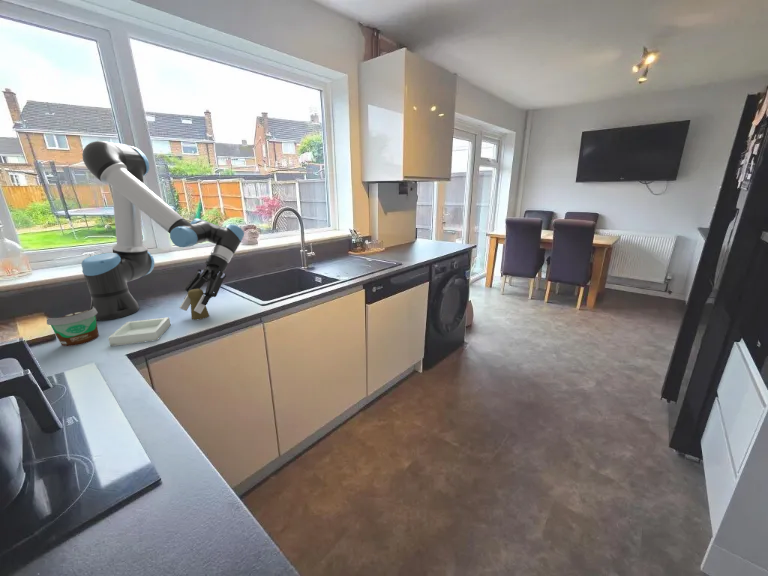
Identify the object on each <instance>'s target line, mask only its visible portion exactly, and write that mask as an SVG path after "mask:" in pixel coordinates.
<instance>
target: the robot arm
mask: <svg viewBox="0 0 768 576" xmlns="http://www.w3.org/2000/svg"><path fill="white" fill-rule="evenodd" d="M82 160H83V163H84V165H85V167H86V168H87V170H88V171H89V173H91V174H92V175H93V176H94V177H95V178H96V179H98V180H99V181H100V182H101V183H103V184H105V185H110V186H111V190H112V191H111V192H112V201H113V204H112V205H113V216H114V224H115V225H114V226H115V237H116V243H115V245H113V246H112V252H105V253H99V254H94V255H92V256H88V257H86V258H84V259H83V260H82V261H81V269H82V270H81V271H82V274H83V276H84V279H85V282H86V286H87V289H88V291H89V292H88V293H89V294H90V299H91V301H90V309H93V307H94V308H95V309H96V311H97V312H98V313H97V314H96V315H95V316H96V321H108V320H115V319H119V318H123V317H127V316H130V315H132V314H135V313H136V311H137V312H138V311H139V309H140V307H139V303H138V301H137V300H136V299H135V298H134V297H133V295H132V293H130V290H129V286H128V283H129V282H132V281H134V280H138V279H141V278H143V277H146V276H147V275H149V274H151V272H152V271H153V270H154V268H155V259H154V256H153V255H151V254H152V253H151V252H149V250H148V247H147V246H145V245H144V243H143V228H142V227H143V225H142V212H143V213H144V214H146V216H147V217H149V218H150V219H152V220H153V221H154V222H155V223H156V224H157V225H159V226H160V227H161V228H162V229H164V230H165V232H167V233H169V239H170V241H171V242H172V244H174V245H175V246H177V247H179V248H190V247H194V246H195V245H198V244H202V243H204V242H205V243H206V242H209V243H212V244H215V246H214V247H213V249H212V250H211V252H210V254H209V256H208V257H207V259H206V261H205V264H206V266H205V267H204V268H203V269H201V268H198V269H197V270H196V273H195V274H194V276H193V277H192V279H191V280H190V281H189V283H188V284H187V286H186V287H185V289H184V291H186V295H185V297H184V298H183V301H182V302H181V304H180V305H179V308H180V310H183V311H188V309H189V308H190V307H191V300H190V298H189V297H188V291H190V290H192V289H202V286H204V285H205V284H206V283H207V285H206V288H205V292H203V294H204V295H202V297H201V299H200V300H199V302H198V304H197V306H196V307H195V309H194V311H196V312H198V313H199V314H201V313H202V311H203V309H204V307H205V305H208V303H209V302H210V299H211V298H212V299H213V298H216V297H217V296H218V293H219V291H220V288H221V286H222V284H223V281H224V280H225V279H226V277H227V274H225V273H224V272H225V271H226V269H227V267H228V266H229V263H230V262H231V260H232V258H233V256H234V255H235V253H236V251H237V249H238V248H239V246H240V245H241V243H242V240H243V238H244V236H245V232H244V230H243V229H242V228H241V227H240V226H238V225H235V224H234V223H233V224H231V223H229V224H227V225H226V226H225V227H224V226H220V225H217V224H214V223H212V222H209V221H208V220H204V219H201V218H193V220H191V221H190V222H189V221H188V220H186V219H185V218H184V217H183V216H182V215H180V214H179V212H177V211H176V210H174V209H173V208H172V207H171V206H170V205H168V204H167V203H166V202H165V201H164V200H163V199H162V198H161V197H159V196H158V195H157V194H156V193H154V192H153V191H152V190H151V189H149V187H148V186H146V185H145V184H144V176H146V175H147V173H149V172H150V163H149V160H148V158H147V156H146V154H145V153H143V151H141V149H139V148H138V147H135V146H131V145H129V144H126V143H117V142H109V141H104V140H96V141H92V142H89V143H88V144H86V145H85V147H84V148H83V150H82ZM90 309H89V310H90Z"/></svg>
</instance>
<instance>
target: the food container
mask: <svg viewBox="0 0 768 576" xmlns="http://www.w3.org/2000/svg"><path fill="white" fill-rule="evenodd" d="M97 313H98V312H97V311H96V309H95V308H94V307H93V309H88V310H87V309H86V310H83V311H76V312H75V311H74V312H71V313H68V314H65V315H62V316H59V317H46V325H48V326H51V328H52V330H53V332H54V333H55V337H56V339H58V341H59V343H60V345H61V346H63V347H74V346H79V345H84V344H87V343H90V342H92V341H94V340H97V339H98V337H99V336H100V335H99V330H98V329H99V328H98V323H97V320H96V316H95V315H96V314H97Z"/></svg>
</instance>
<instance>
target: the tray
mask: <svg viewBox="0 0 768 576" xmlns="http://www.w3.org/2000/svg"><path fill="white" fill-rule="evenodd" d="M171 325H172V324H171V320H170V317H161V318H160V317H159V318H151V319H142V320H133V321H126V322H125V323H124V324H123V325H121V326H120V327H119V328H118V329H117V330H115V332H113V333H112V334H110V336H108V337H107V338H108V339H107V340H108V341H109V345H110V347H115V346H116V347H117V346H123V345H132V343H133V344H139V343H138V342H141V343H146V342H145V341H149V342H153V341H152V340H157V341H158V340H159V339H160V338H161V337H162V336H163V335H164V333H166V331H167V330H168V328H170V327H171ZM162 334H163V335H162ZM161 335H162V336H161ZM160 336H161V337H160ZM159 337H160V338H159ZM158 338H159V339H158Z"/></svg>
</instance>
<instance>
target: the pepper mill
mask: <svg viewBox="0 0 768 576" xmlns="http://www.w3.org/2000/svg"><path fill="white" fill-rule="evenodd" d="M187 293H188V297H189V298H190V300H191V304H190V313H191V314H190V315H191V319H192V320H193V319H194V320H197V319H199V320H203V318H204V319H206V318H208V317H209V316H210V313H209V311H208V308H207V306H206V305H205V307H204V309H203V311H202V313H201V314H199V313H198V312H196V311H194V309H195V307H196V306H197V304H198V302H199V300H200V299H201V297H202V295H204V294H203V293H204V291H203V289H202V288H200V289H192V290H190V291H188V292H187ZM197 321H198V320H197Z"/></svg>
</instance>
